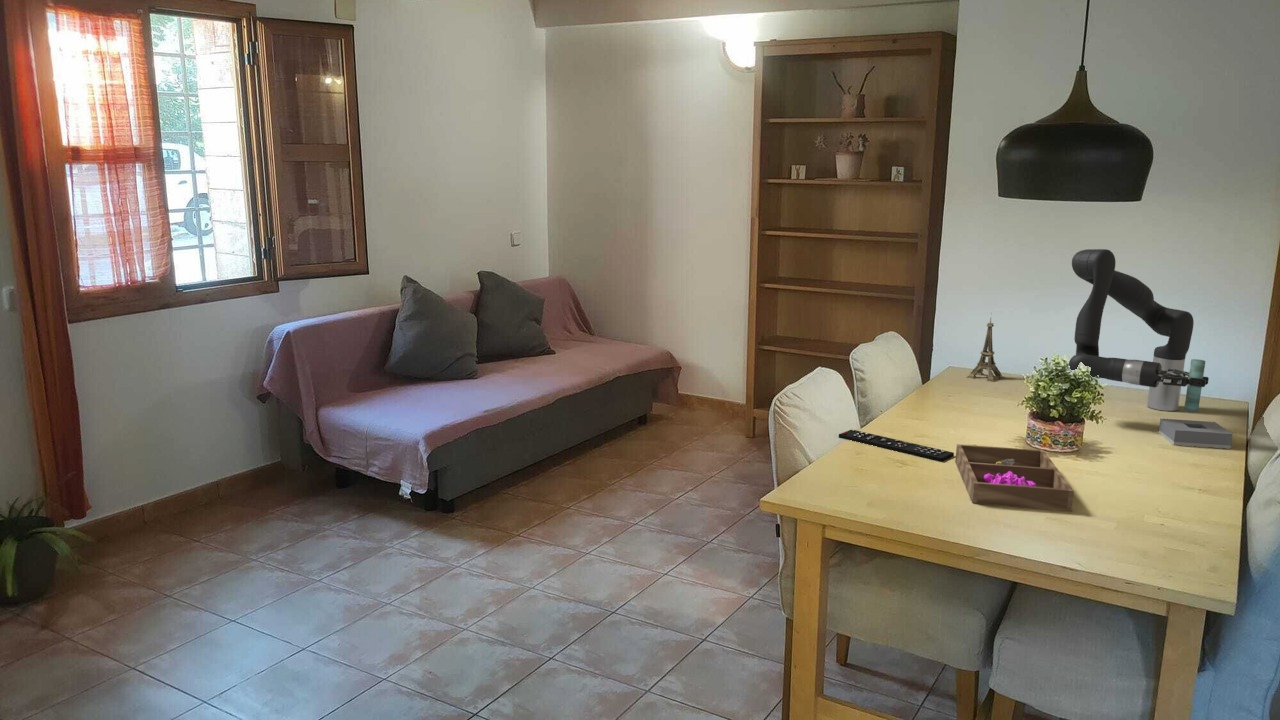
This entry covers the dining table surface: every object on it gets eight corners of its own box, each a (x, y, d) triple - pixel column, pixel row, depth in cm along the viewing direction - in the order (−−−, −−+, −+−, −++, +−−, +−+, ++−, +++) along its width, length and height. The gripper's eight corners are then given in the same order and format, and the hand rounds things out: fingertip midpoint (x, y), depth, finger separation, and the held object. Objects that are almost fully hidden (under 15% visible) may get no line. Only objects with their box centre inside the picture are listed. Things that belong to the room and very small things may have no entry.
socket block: (1158, 432, 284) (1160, 418, 283) (1212, 436, 281) (1214, 421, 280) (1173, 445, 271) (1175, 430, 270) (1230, 449, 268) (1232, 433, 268)
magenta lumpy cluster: (981, 501, 223) (984, 475, 222) (982, 488, 232) (985, 463, 231) (1035, 509, 219) (1039, 482, 218) (1034, 496, 228) (1037, 470, 226)
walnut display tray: (955, 461, 252) (956, 444, 251) (1041, 468, 248) (1043, 450, 247) (972, 503, 222) (974, 483, 221) (1071, 511, 217) (1073, 490, 216)
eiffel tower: (966, 377, 354) (972, 312, 349) (976, 373, 362) (982, 309, 357) (994, 382, 347) (1000, 315, 342) (1004, 377, 355) (1010, 312, 350)
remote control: (851, 434, 279) (851, 427, 279) (953, 457, 258) (954, 450, 257) (837, 439, 273) (837, 432, 273) (941, 463, 252) (941, 456, 252)
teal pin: (1182, 408, 277) (1189, 358, 274) (1195, 409, 277) (1202, 359, 274) (1186, 411, 274) (1193, 361, 271) (1200, 412, 273) (1207, 362, 270)
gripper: (1137, 364, 276) (1204, 373, 265) (1148, 357, 287) (1213, 365, 276) (1134, 389, 278) (1200, 399, 267) (1145, 381, 288) (1209, 390, 278)
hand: (1206, 382), depth 272 cm, fingers closed on teal pin, 3 cm apart
